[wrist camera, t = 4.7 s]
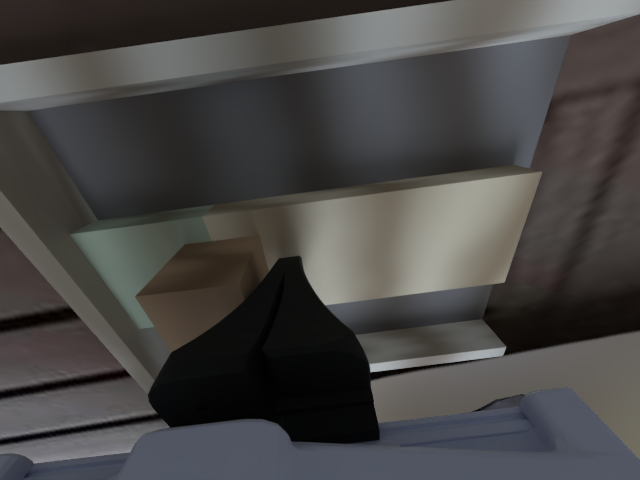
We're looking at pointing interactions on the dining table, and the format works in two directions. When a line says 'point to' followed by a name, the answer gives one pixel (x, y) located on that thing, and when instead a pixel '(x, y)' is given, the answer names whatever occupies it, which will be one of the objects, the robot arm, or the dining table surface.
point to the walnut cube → (202, 287)
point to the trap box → (295, 165)
